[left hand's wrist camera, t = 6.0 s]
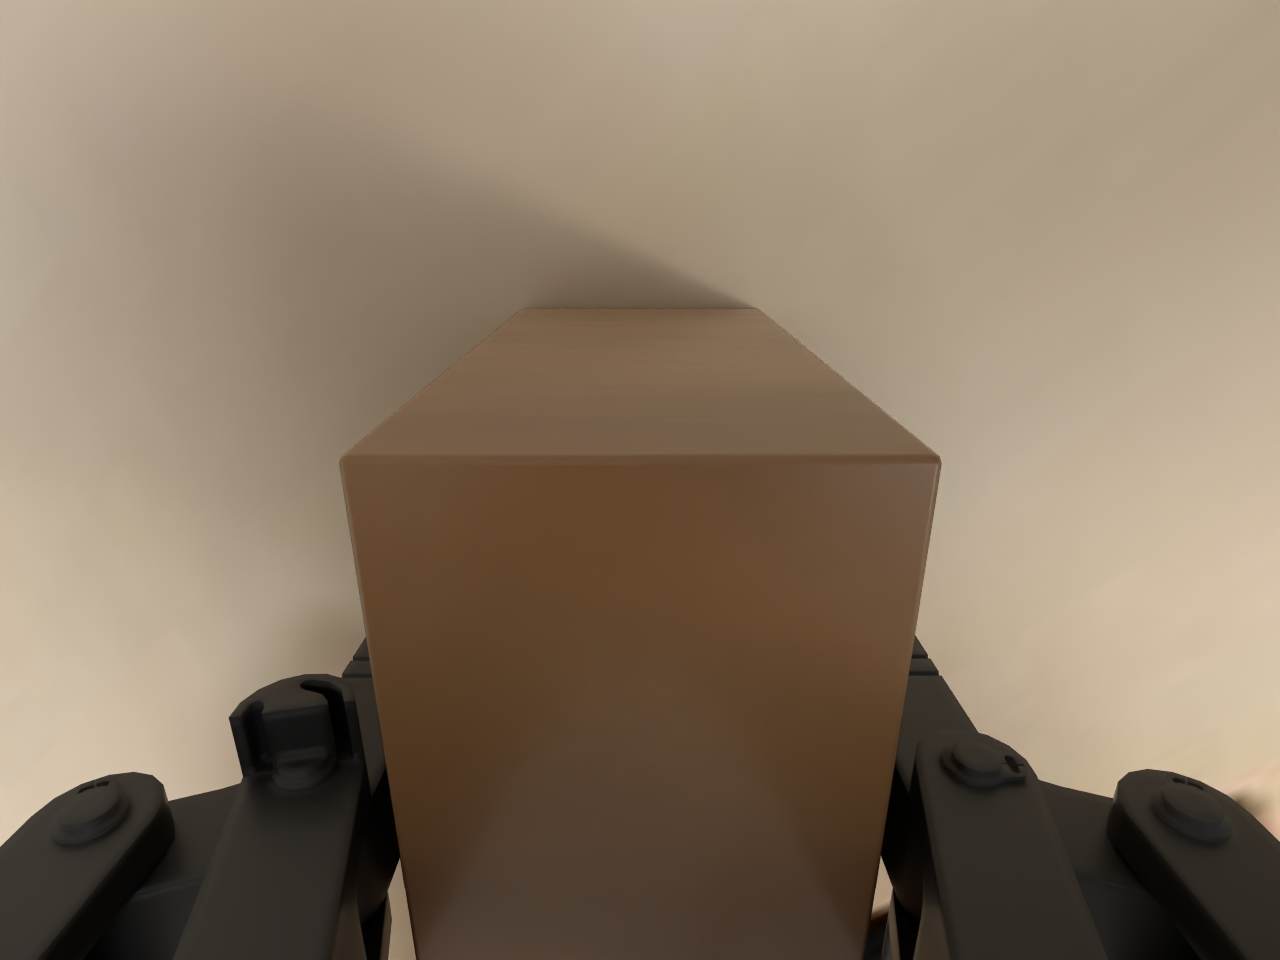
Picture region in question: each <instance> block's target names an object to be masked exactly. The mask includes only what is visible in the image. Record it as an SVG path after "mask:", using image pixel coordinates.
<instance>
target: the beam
mask: <svg viewBox="0 0 1280 960" xmlns="http://www.w3.org/2000/svg"><path fill="white" fill-rule="evenodd" d="M339 464H340V471H341V477H342V484H343V490H344V497H345V503H346V509H347V516H348V522H349V529H350V535H351V542H352V548H353V555H354V561H355V567H356V574H357V580H358V587H359V593H360V600H361V606H362V613H363V619H364V625H365V632H366V638H367V645H368V651H369V658H370V664H371V671H372V677H373V683H374V690H375V696H376V703H377V709H378V716H379V722H380V729H381V735H382V741H383V748H384V754H385V761H386V767H387V774H388V780H389V787H390V793H391V799H392V806H393V812H394V819H395V825H396V832H397V838H398V845H399V851H400V857H401V864H402V870H403V877H404V883H405V890H406V896H407V903H408V909H409V915H410V922H411V928H412V935H413V941H414V948H415V954H416V960H864V958H865V952H866V945H867V939H868V932H869V926H870V920H871V913H872V907H873V900H874V894H875V887H876V881H877V875H878V868H879V862H880V855H881V849H882V843H883V836H884V830H885V823H886V817H887V810H888V804H889V797H890V791H891V785H892V778H893V772H894V765H895V759H896V753H897V746H898V740H899V733H900V727H901V720H902V714H903V708H904V701H905V695H906V688H907V682H908V675H909V669H910V663H911V656H912V650H913V643H914V637H915V630H916V624H917V618H918V611H919V605H920V598H921V592H922V585H923V579H924V573H925V566H926V560H927V553H928V547H929V540H930V534H931V528H932V521H933V515H934V508H935V502H936V495H937V489H938V483H939V476H940V470H941V460H940V456H938V455H937V454H936V453H935V452H933V451H932V450H931V449H930V448H929V447H927V446H926V445H925V444H924V443H922V442H921V441H920V440H919V439H917V438H916V437H915V436H914V435H913V434H911V433H910V432H909V431H908V430H906V429H905V428H904V427H903V426H902V425H900V424H899V423H898V422H897V421H895V420H894V419H893V418H892V417H890V416H889V415H888V414H887V413H886V412H884V411H883V410H882V409H881V408H879V407H878V406H877V405H876V404H875V403H873V402H872V401H871V400H870V399H868V398H867V397H866V396H865V395H863V394H862V393H861V392H860V391H859V390H857V389H856V388H855V387H854V386H852V385H851V384H850V383H849V382H847V381H846V380H845V379H844V378H843V377H841V376H840V375H839V374H838V373H836V372H835V371H834V370H833V369H832V368H830V367H829V366H828V365H827V364H825V363H824V362H823V361H822V360H820V359H819V358H818V357H817V356H816V355H814V354H813V353H812V352H811V351H809V350H808V349H807V348H806V347H804V346H803V345H802V344H801V343H800V342H798V341H797V340H796V339H795V338H793V337H792V336H791V335H790V334H789V333H787V332H786V331H785V330H784V329H782V328H781V327H780V326H779V325H777V324H776V323H775V322H774V321H773V320H771V319H770V318H769V317H768V316H766V315H765V314H764V313H763V312H761V311H760V310H759V309H757V308H524V309H521V310H520V311H519V312H518V313H516V314H515V315H514V316H513V317H512V318H510V319H509V320H508V321H507V322H505V323H504V324H503V325H502V326H501V327H499V328H498V329H497V330H496V331H494V332H493V333H492V334H491V335H489V336H488V337H487V338H486V339H485V340H483V341H482V342H481V343H480V344H478V345H477V346H476V347H475V348H474V349H472V350H471V351H470V352H469V353H467V354H466V355H465V356H464V357H463V358H461V359H460V360H459V361H458V362H456V363H455V364H454V365H453V366H451V367H450V368H449V369H448V370H447V371H445V372H444V373H443V374H442V375H440V376H439V377H438V378H437V379H436V380H434V381H433V382H432V383H431V384H429V385H428V386H427V387H426V388H425V389H423V390H422V391H421V392H420V393H418V394H417V395H416V396H415V397H414V398H412V399H411V400H410V401H409V402H407V403H406V404H405V405H404V406H402V407H401V408H400V409H399V410H398V411H396V412H395V413H394V414H393V415H391V416H390V417H389V418H388V419H387V420H385V421H384V422H383V423H382V424H380V425H379V426H378V427H377V428H376V429H374V430H373V431H372V432H371V433H369V434H368V435H367V436H366V437H364V438H363V439H362V440H361V441H360V442H358V443H357V444H356V445H355V446H353V447H352V448H351V449H350V450H349V451H347V452H346V453H345V454H344V455H342V456H341V459H340V463H339Z"/></svg>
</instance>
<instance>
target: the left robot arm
mask: <svg viewBox="0 0 1280 960" xmlns="http://www.w3.org/2000/svg"><path fill="white" fill-rule="evenodd" d="M229 720H230V725H231V729H232V733H233V737H234V741H235V745H236V749H237V753H238V757H239V761H240V766H241V770H242V774H243V779H242V781H241V783H240V784H236V785H233V786H230V787H226V788H223V789H219V790H215V791H211V792H206V793H202V794H198V795H193V796H189V797H184V798H180V799H176V800H171V801H168V799H167V796H166V792H165V789H164V786H163V784H162V783H161V782H160V781H158V780H157V779H156V778H155V777H154V776H153V775H148V774H142V773H137V772H130V773H122V774H113V775H108V776H105V777H102V778H99V779H96V780H92V781H90V782H86V783H83V784H81V785H79V786H77V787H75V788H73V789H71V790H69V791H68V792H66V793H64V794H62V795H60V796H58V797H56V798H54V799H53V800H52V801H51V802H49V803H48V804H47V805H45V806H44V807H43V808H42V809H40V810H39V811H38V812H37V813H35V814H34V815H33V816H31V817H30V818H29V819H28V820H27V821H26V822H25V823H24V824H23V825H22V826H21V827H20V828H19V829H18V830H17V831H16V832H15V833H14V834H13V835H12V836H11V837H10V838H9V839H8V840H7V841H6V842H5V843H4V844H3V845H2V846H1V847H0V960H388V953H389V943H390V933H391V923H392V917H391V909H390V902H389V896H388V888H389V886H390V883H391V880H392V878H393V875H394V872H395V870H396V867H397V864H398V861H399V859H400V861H401V857H400V851H399V845H398V838H397V832H396V825H395V819H394V812H393V806H392V799H391V793H390V787H389V780H388V774H387V767H386V761H385V754H384V748H383V741H382V735H381V729H380V722H379V716H378V709H377V703H376V696H375V690H374V683H373V677H372V671H371V664H370V658H369V651H368V645H367V638H365V639H364V641H363V642H362V644H361V646H360V647H359V649H358V650H357V652H356V653H355V655H354V656H353V661H350V663H349V664H348V666H347V667H346V669H345V670H344V672H343V673H342V678H340V677H336V676H332V675H328V674H304V675H300V676H296V677H291V678H287V679H282V680H280V681H277V682H275V683H273V684H270V685H268V686H266V687H264V688H261V689H259V690H257V691H256V692H255V693H253V694H252V695H250V696H249V697H248V698H246V699H245V700H243V701H242V702H241V703H240V704H239V705H238V706H237V708H236V709H235V710H234V712H233V713H232V714H231V715H230V717H229ZM880 857H882V859H883V862H884V865H885V867H886V870H887V873H888V875H889V878H890V881H891V883H892V886H893V890H892V896H891V902H890V908H889V914H888V920H887V926H886V932H885V938H884V944H883V951H882V958H881V960H891V958H892V960H1280V842H1279V841H1278V840H1277V839H1276V838H1275V837H1274V836H1273V835H1272V834H1271V833H1270V832H1269V831H1268V830H1267V829H1266V828H1265V827H1264V826H1263V825H1262V824H1261V823H1260V822H1259V821H1258V820H1257V819H1256V818H1255V817H1254V816H1253V815H1252V814H1250V813H1249V812H1248V811H1247V810H1245V809H1244V808H1243V807H1242V806H1240V805H1239V804H1238V803H1236V802H1235V801H1234V800H1233V799H1231V798H1230V797H1229V796H1227V795H1226V794H1224V793H1222V792H1220V791H1218V790H1216V789H1214V788H1212V787H1210V786H1208V785H1206V784H1205V783H1203V782H1201V781H1198V780H1195V779H1192V778H1190V777H1186V776H1183V775H1180V774H1177V773H1174V772H1168V771H1160V770H1151V769H1145V770H1139V771H1134V772H1129V773H1128V774H1126V775H1125V776H1124V777H1123V778H1122V779H1121V780H1120V781H1119V782H1118V784H1117V787H1116V791H1115V794H1114V798H1109V797H1105V796H1100V795H1096V794H1092V793H1087V792H1083V791H1078V790H1074V789H1070V788H1065V787H1061V786H1057V785H1054V784H1051V783H1047V782H1044V781H1041V780H1039V779H1038V778H1037V775H1036V774H1035V772H1034V771H1033V769H1032V768H1031V766H1030V765H1029V763H1028V762H1027V760H1026V759H1025V758H1023V757H1022V756H1021V755H1020V754H1018V753H1017V752H1016V751H1015V750H1013V749H1012V748H1011V747H1010V746H1008V745H1006V744H1004V743H1002V742H1000V741H998V740H996V739H994V738H992V737H990V736H988V735H985V734H981V733H978V731H977V730H976V728H975V727H974V725H973V724H972V722H971V720H970V719H969V717H968V716H967V714H966V713H965V711H964V710H963V708H962V707H961V705H960V704H959V702H958V700H957V699H956V697H955V696H954V694H953V693H952V691H951V690H950V688H949V687H948V685H947V684H946V682H945V680H944V679H943V677H942V676H939V671H938V670H937V668H936V667H935V665H934V664H933V662H932V660H931V659H928V654H927V653H926V651H925V650H924V648H923V647H922V645H921V644H920V642H919V640H918V639H917V637H916V636H915V637H914V643H913V650H912V656H911V663H910V669H909V675H908V682H907V688H906V695H905V701H904V708H903V714H902V720H901V727H900V733H899V740H898V746H897V753H896V759H895V765H894V772H893V778H892V785H891V791H890V797H889V804H888V810H887V817H886V823H885V830H884V836H883V843H882V849H881V855H880ZM879 864H880V862H879ZM401 867H402V864H401ZM878 870H879V868H878ZM402 874H403V870H402ZM877 876H878V875H877ZM403 880H404V877H403ZM876 883H877V881H876ZM404 886H405V883H404ZM875 888H876V887H875Z"/></svg>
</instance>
